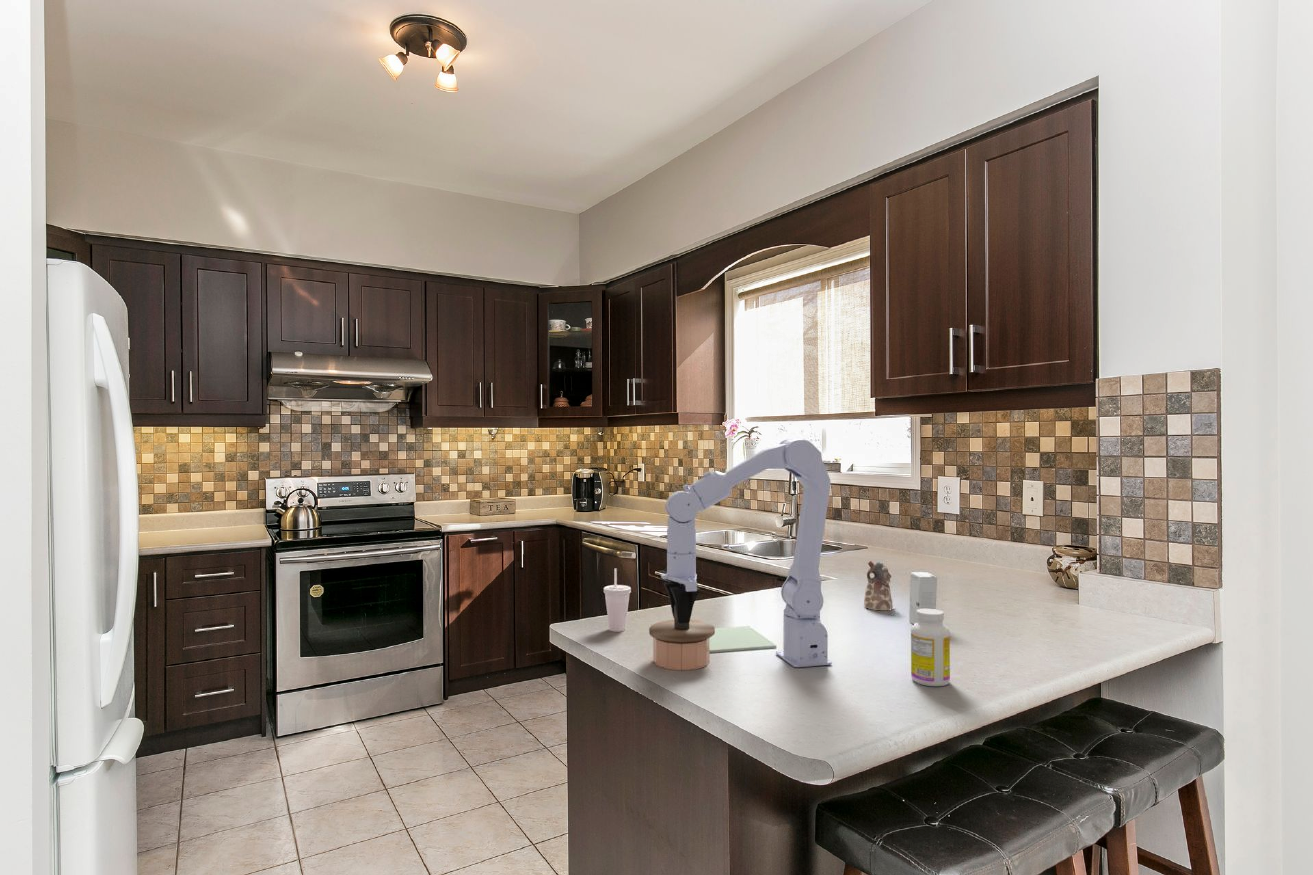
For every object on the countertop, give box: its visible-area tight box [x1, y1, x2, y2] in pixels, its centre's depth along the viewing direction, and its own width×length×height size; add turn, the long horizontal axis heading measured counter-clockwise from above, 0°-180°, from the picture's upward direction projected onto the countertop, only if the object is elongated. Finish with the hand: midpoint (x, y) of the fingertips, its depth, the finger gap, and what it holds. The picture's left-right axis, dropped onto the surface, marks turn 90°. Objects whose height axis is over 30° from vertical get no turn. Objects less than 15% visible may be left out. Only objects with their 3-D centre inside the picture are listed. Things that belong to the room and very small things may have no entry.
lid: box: [648, 605, 716, 642], centre depth 145 cm, size 13×13×5 cm
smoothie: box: [603, 568, 632, 633], centre depth 168 cm, size 6×6×14 cm
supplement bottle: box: [910, 608, 951, 687], centre depth 133 cm, size 7×7×13 cm
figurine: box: [863, 560, 894, 611], centre depth 189 cm, size 7×7×12 cm
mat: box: [709, 625, 777, 654], centre depth 160 cm, size 16×16×1 cm
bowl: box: [652, 637, 710, 671], centre depth 145 cm, size 11×11×5 cm
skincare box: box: [908, 571, 938, 625], centre depth 172 cm, size 6×4×12 cm
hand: (681, 620), depth 145 cm, fingers closed on lid, 3 cm apart
